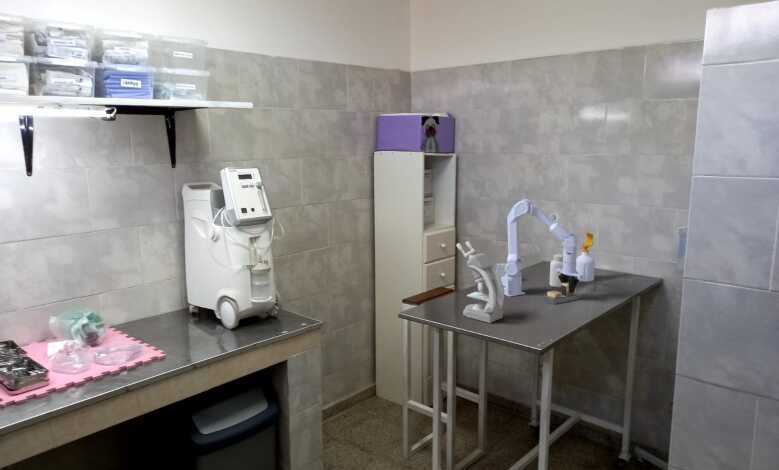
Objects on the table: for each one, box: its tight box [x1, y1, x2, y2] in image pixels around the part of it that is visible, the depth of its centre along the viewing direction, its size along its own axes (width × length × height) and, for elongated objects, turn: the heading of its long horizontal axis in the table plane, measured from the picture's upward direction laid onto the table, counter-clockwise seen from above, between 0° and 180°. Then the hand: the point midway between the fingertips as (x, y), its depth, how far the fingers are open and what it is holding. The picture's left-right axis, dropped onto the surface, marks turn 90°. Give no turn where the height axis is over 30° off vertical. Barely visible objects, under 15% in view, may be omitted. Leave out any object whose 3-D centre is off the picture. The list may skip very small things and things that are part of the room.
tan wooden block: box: [560, 282, 577, 297], centre depth 248 cm, size 5×4×6 cm, turn 116°
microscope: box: [455, 240, 505, 324], centre depth 225 cm, size 11×19×30 cm, turn 45°
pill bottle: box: [549, 253, 563, 288], centre depth 269 cm, size 8×8×15 cm
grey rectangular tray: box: [542, 292, 583, 305], centre depth 247 cm, size 16×7×2 cm, turn 116°
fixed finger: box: [546, 290, 562, 299], centre depth 245 cm, size 4×5×3 cm
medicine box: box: [495, 263, 507, 279], centre depth 280 cm, size 8×4×9 cm, turn 84°
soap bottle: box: [576, 231, 596, 283], centre depth 278 cm, size 9×9×25 cm
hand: (568, 291), depth 248 cm, fingers closed on tan wooden block, 3 cm apart
